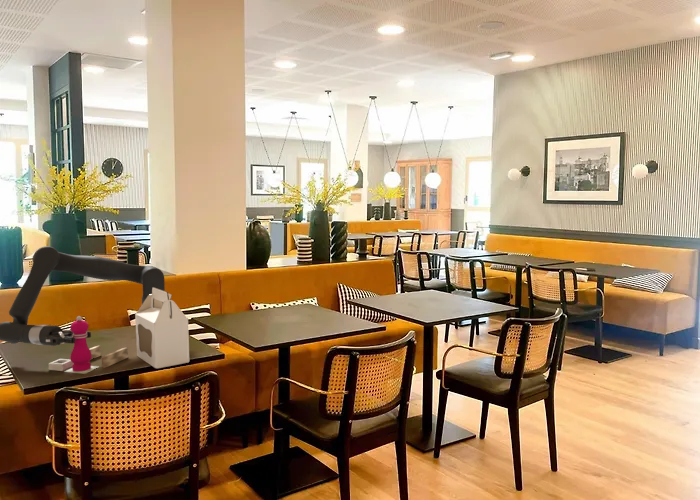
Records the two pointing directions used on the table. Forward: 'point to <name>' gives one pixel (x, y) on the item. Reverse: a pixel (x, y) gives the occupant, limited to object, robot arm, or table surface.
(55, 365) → the box
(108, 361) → the oak channel
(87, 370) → the sage pad
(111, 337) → the table surface
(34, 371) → the table surface
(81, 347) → the pepper mill
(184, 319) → the gable box
